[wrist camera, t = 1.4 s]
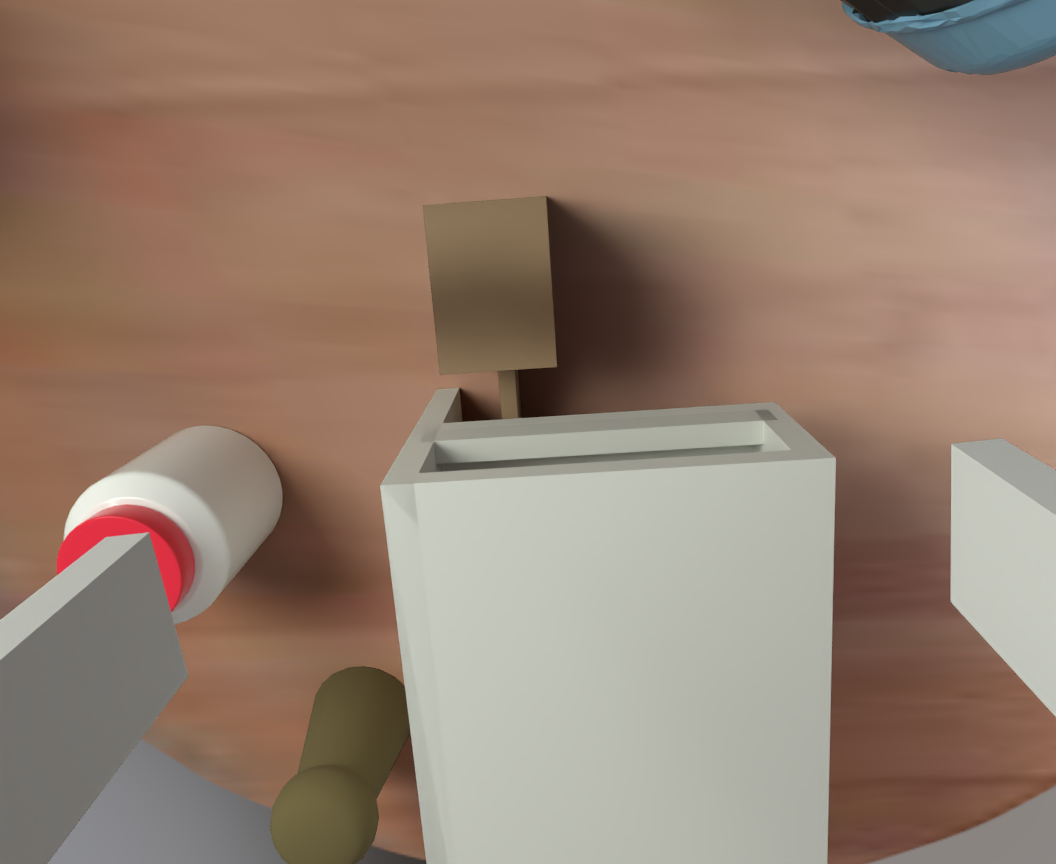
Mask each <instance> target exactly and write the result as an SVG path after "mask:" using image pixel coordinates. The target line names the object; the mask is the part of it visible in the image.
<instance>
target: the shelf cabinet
mask: <svg viewBox="0 0 1056 864" xmlns="http://www.w3.org/2000/svg"><path fill="white" fill-rule="evenodd" d="M835 476H836V457H834V456H833V455H832V454H831V453H830V452H829V451H828V450H827V449H826V448H825V447H823V446H822V445H821V444H820V443H819V442H818V441H817V440H816V439H815V438H814V437H813V436H811V435H810V434H809V433H808V432H807V431H806V430H805V429H804V428H803V427H802V426H800V425H799V424H798V423H797V422H796V421H795V420H794V419H793V418H792V417H791V416H789V415H788V414H787V413H786V412H785V411H784V410H783V409H782V408H781V407H780V406H778V405H777V404H776V403H775V402H767V403H751V404H735V405H720V406H704V407H688V408H673V409H657V410H642V411H626V412H610V413H595V414H579V415H563V416H548V417H532V418H516V419H501V420H485V421H469V422H463V420H462V409H461V399H460V388H449V389H437V390H436V392H435V394H434V395H433V397H432V399H431V401H430V402H429V404H428V406H427V407H426V409H425V411H424V412H423V414H422V416H421V417H420V419H419V421H418V422H417V424H416V426H415V428H414V429H413V431H412V433H411V434H410V436H409V438H408V439H407V441H406V443H405V444H404V446H403V448H402V450H401V451H400V453H399V455H398V456H397V458H396V460H395V461H394V463H393V465H392V466H391V468H390V470H389V472H388V473H387V475H386V477H385V478H384V480H383V482H382V483H381V485H380V488H381V496H382V504H383V513H384V521H385V529H386V537H387V545H388V553H389V561H390V569H391V578H392V586H393V594H394V602H395V610H396V618H397V626H398V635H399V643H400V651H401V659H402V667H403V675H404V683H405V692H406V700H407V708H408V716H409V724H410V732H411V740H412V748H413V757H414V765H415V773H416V781H417V789H418V797H419V805H420V814H421V822H422V830H423V838H424V846H425V854H426V862H427V864H827V850H828V804H829V757H830V710H831V663H832V616H833V570H834V523H835Z"/></svg>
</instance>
